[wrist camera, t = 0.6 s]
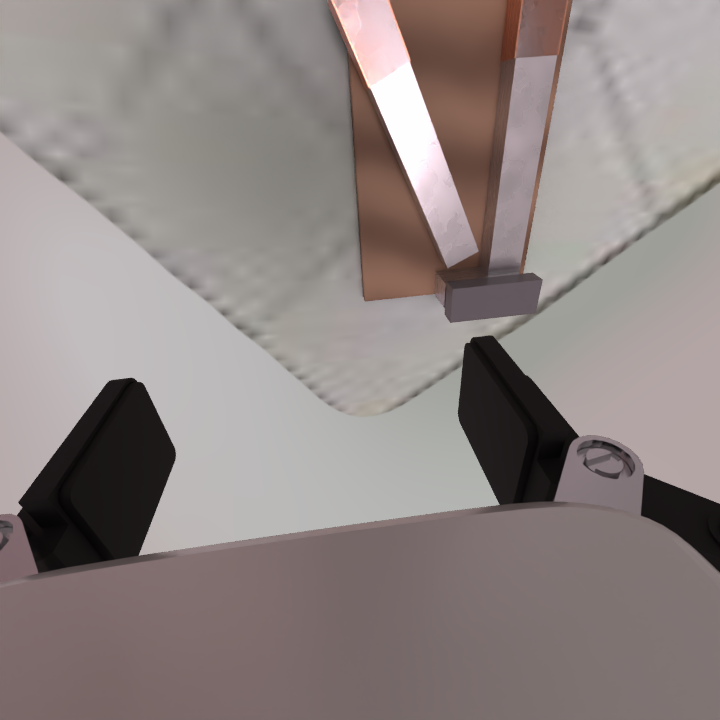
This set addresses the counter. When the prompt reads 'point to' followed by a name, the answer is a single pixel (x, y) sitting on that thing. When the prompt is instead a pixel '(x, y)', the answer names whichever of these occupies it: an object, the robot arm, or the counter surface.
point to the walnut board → (454, 132)
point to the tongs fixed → (515, 136)
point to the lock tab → (492, 297)
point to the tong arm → (405, 120)
